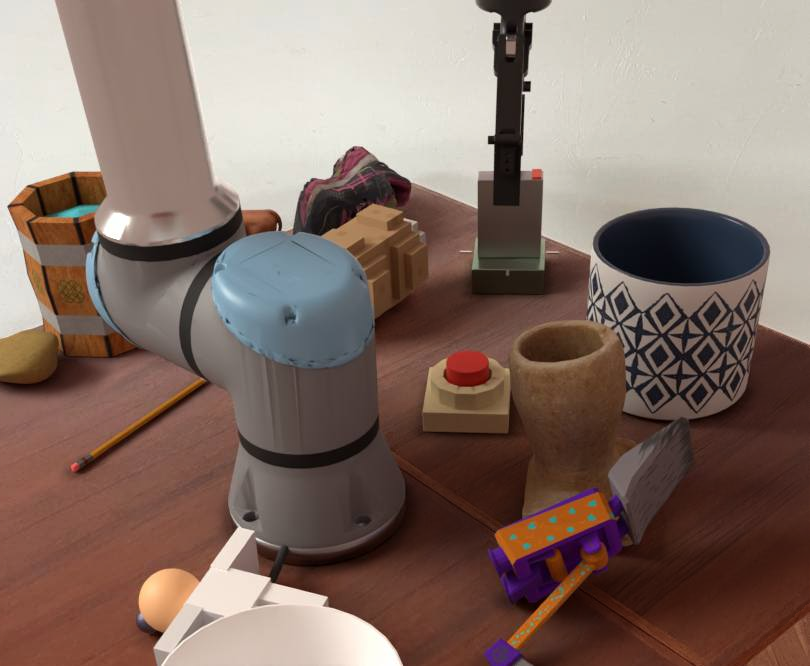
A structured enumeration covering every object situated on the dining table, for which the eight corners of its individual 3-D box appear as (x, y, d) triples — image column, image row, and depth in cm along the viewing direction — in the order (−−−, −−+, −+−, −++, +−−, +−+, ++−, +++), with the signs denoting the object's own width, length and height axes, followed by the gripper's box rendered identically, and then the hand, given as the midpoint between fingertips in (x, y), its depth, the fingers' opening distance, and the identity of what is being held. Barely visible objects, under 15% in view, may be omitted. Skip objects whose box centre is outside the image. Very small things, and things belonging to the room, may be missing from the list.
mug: (46, 368, 118) (5, 234, 108) (44, 308, 128) (7, 181, 118) (231, 335, 121) (209, 202, 111) (216, 280, 131) (193, 153, 121)
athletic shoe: (261, 219, 127) (357, 228, 123) (329, 102, 138) (420, 107, 134) (287, 294, 136) (378, 304, 132) (350, 179, 147) (435, 185, 143)
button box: (507, 433, 105) (508, 397, 103) (422, 431, 106) (421, 395, 104) (510, 387, 111) (511, 352, 109) (430, 385, 112) (429, 350, 110)
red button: (487, 389, 105) (487, 373, 104) (444, 388, 105) (444, 372, 104) (489, 366, 108) (489, 350, 107) (448, 365, 108) (447, 349, 107)
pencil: (76, 473, 103) (73, 466, 103) (71, 472, 104) (68, 464, 103) (215, 378, 115) (213, 371, 115) (210, 377, 115) (208, 370, 115)
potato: (84, 339, 117) (41, 377, 111) (55, 381, 122) (12, 419, 116) (29, 292, 115) (-17, 329, 109) (2, 337, 120) (-43, 374, 114)
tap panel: (557, 301, 124) (559, 275, 122) (456, 300, 125) (456, 274, 123) (558, 255, 132) (559, 230, 130) (463, 254, 134) (462, 229, 132)
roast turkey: (449, 287, 127) (447, 203, 121) (353, 360, 116) (346, 271, 110) (377, 267, 132) (372, 184, 125) (279, 334, 121) (268, 248, 114)
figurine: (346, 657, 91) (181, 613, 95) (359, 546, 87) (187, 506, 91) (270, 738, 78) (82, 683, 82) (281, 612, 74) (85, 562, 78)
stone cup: (516, 440, 104) (520, 294, 94) (647, 452, 102) (665, 304, 92) (489, 545, 93) (490, 392, 83) (634, 562, 91) (653, 406, 81)
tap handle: (477, 257, 126) (477, 177, 120) (478, 247, 128) (478, 168, 122) (540, 257, 126) (543, 177, 120) (540, 247, 127) (543, 168, 121)
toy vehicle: (695, 471, 90) (787, 622, 82) (455, 578, 92) (522, 737, 83) (686, 407, 83) (786, 565, 74) (426, 524, 84) (496, 692, 76)
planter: (571, 342, 117) (579, 211, 108) (723, 333, 117) (744, 202, 108) (596, 429, 105) (607, 290, 96) (765, 420, 105) (793, 280, 96)
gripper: (553, -4, 98) (542, 228, 111) (554, -69, 117) (544, 136, 130) (467, -3, 98) (466, 227, 112) (482, -68, 117) (479, 135, 131)
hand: (508, 178), depth 121 cm, fingers open, 13 cm apart
